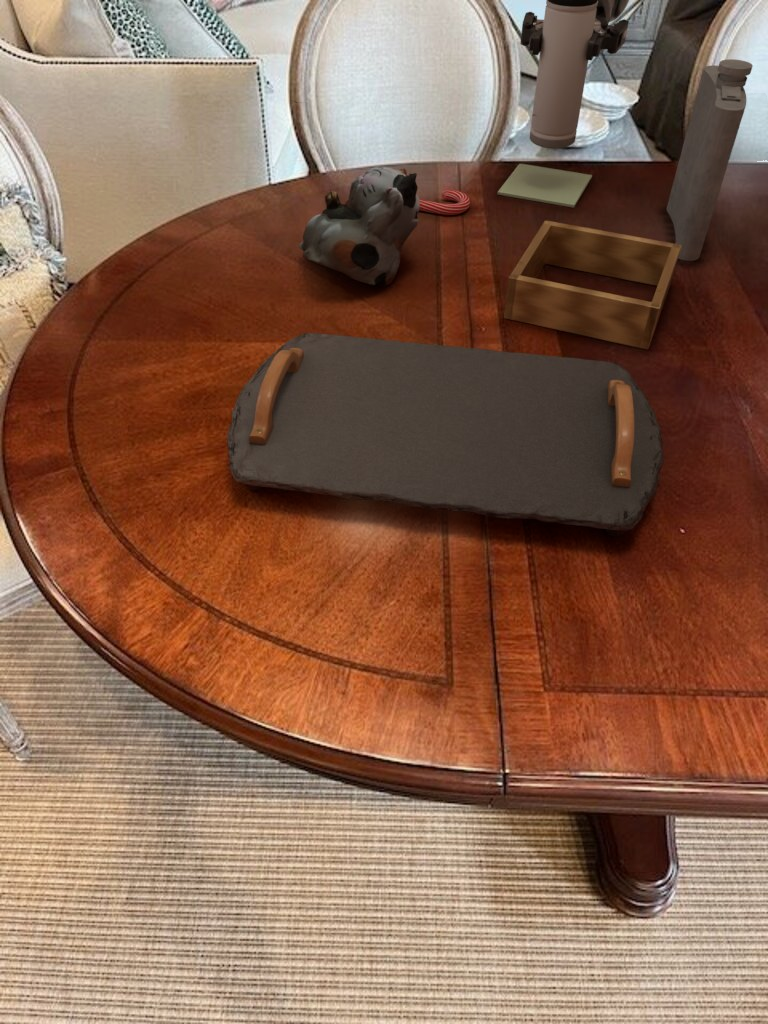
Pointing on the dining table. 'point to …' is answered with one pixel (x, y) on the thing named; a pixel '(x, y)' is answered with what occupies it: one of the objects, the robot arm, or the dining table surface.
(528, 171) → the placemat
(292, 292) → the dining table surface
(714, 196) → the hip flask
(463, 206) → the candy cane
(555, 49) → the travel mug
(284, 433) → the serving tray
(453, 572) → the dining table surface
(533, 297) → the wooden box
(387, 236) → the lucky cat figurine
